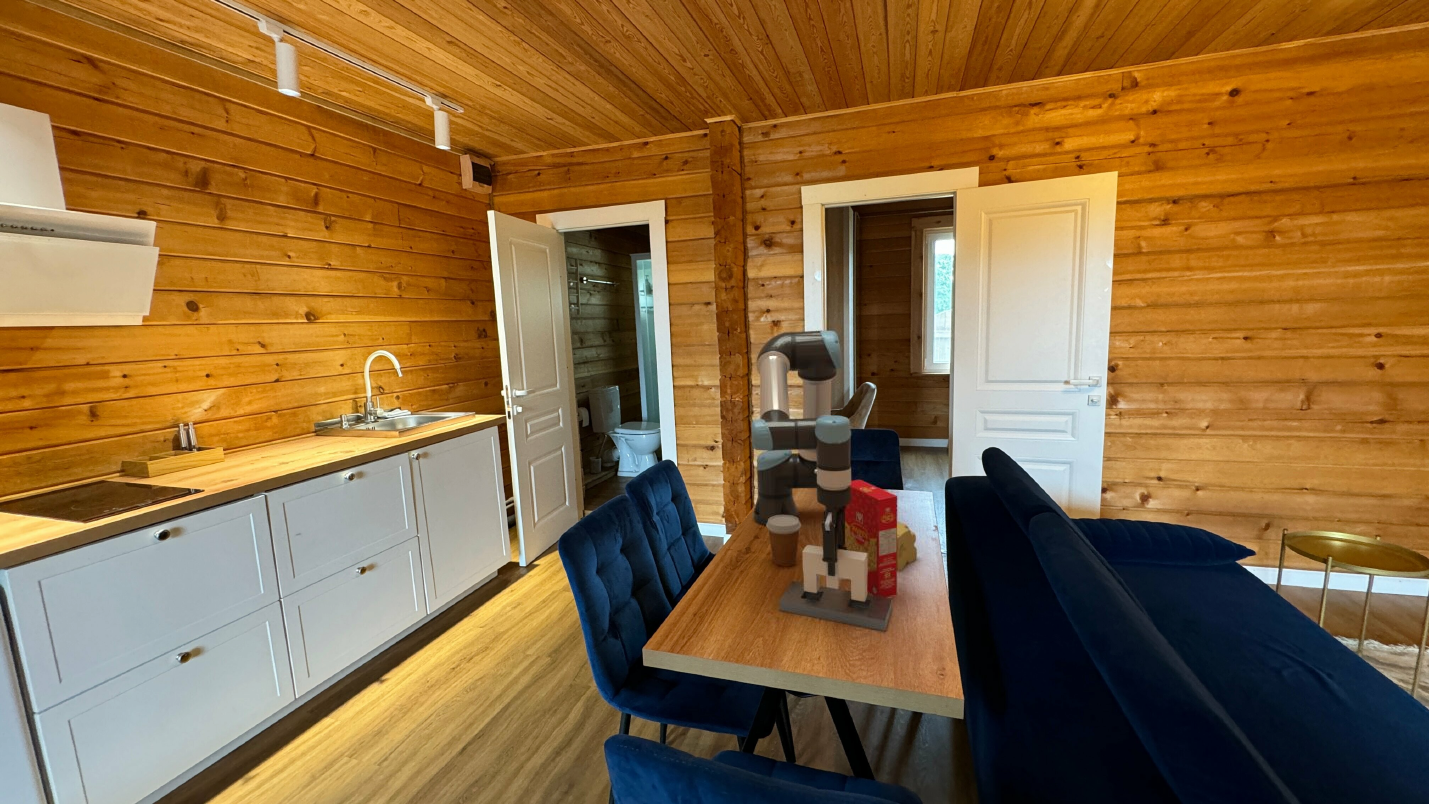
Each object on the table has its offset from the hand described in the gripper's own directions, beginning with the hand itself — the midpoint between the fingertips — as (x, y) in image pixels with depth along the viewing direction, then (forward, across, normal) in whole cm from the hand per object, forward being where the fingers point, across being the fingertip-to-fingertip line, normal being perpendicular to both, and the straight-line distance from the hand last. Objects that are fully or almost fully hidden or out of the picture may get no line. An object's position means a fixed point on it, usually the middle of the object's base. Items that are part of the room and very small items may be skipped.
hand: (835, 582), depth 128 cm
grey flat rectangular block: (+7, 0, 0) cm, 7 cm away
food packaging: (+7, -15, +5) cm, 17 cm away
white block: (+3, 0, 0) cm, 3 cm away
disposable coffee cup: (+7, -20, -19) cm, 29 cm away
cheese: (+7, -30, +8) cm, 32 cm away
